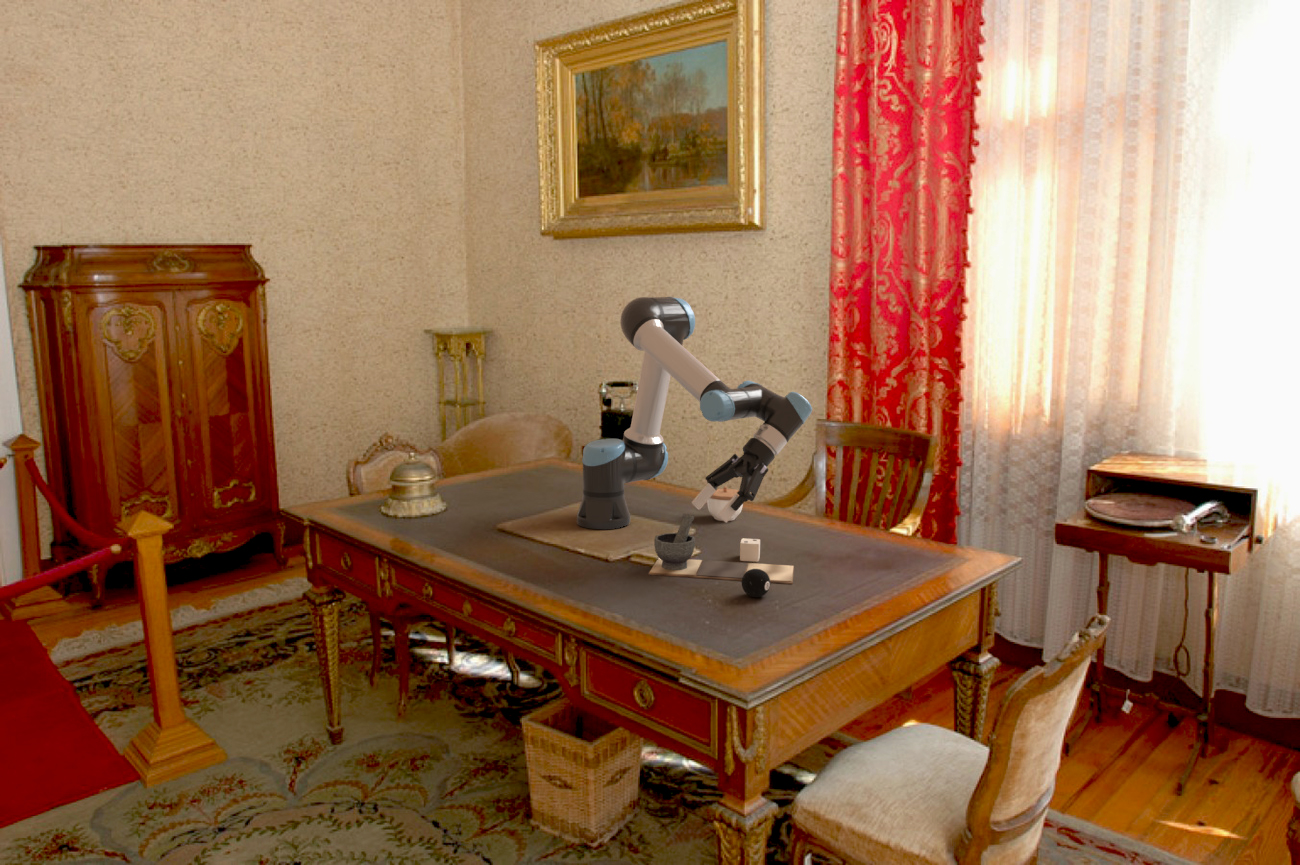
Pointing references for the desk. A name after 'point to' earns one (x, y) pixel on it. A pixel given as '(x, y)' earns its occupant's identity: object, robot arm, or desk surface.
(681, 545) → the mortar and pestle
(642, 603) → the desk surface
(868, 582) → the desk surface
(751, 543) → the cream white block
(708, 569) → the board
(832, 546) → the desk surface
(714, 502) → the lidded jar
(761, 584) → the billiard ball
